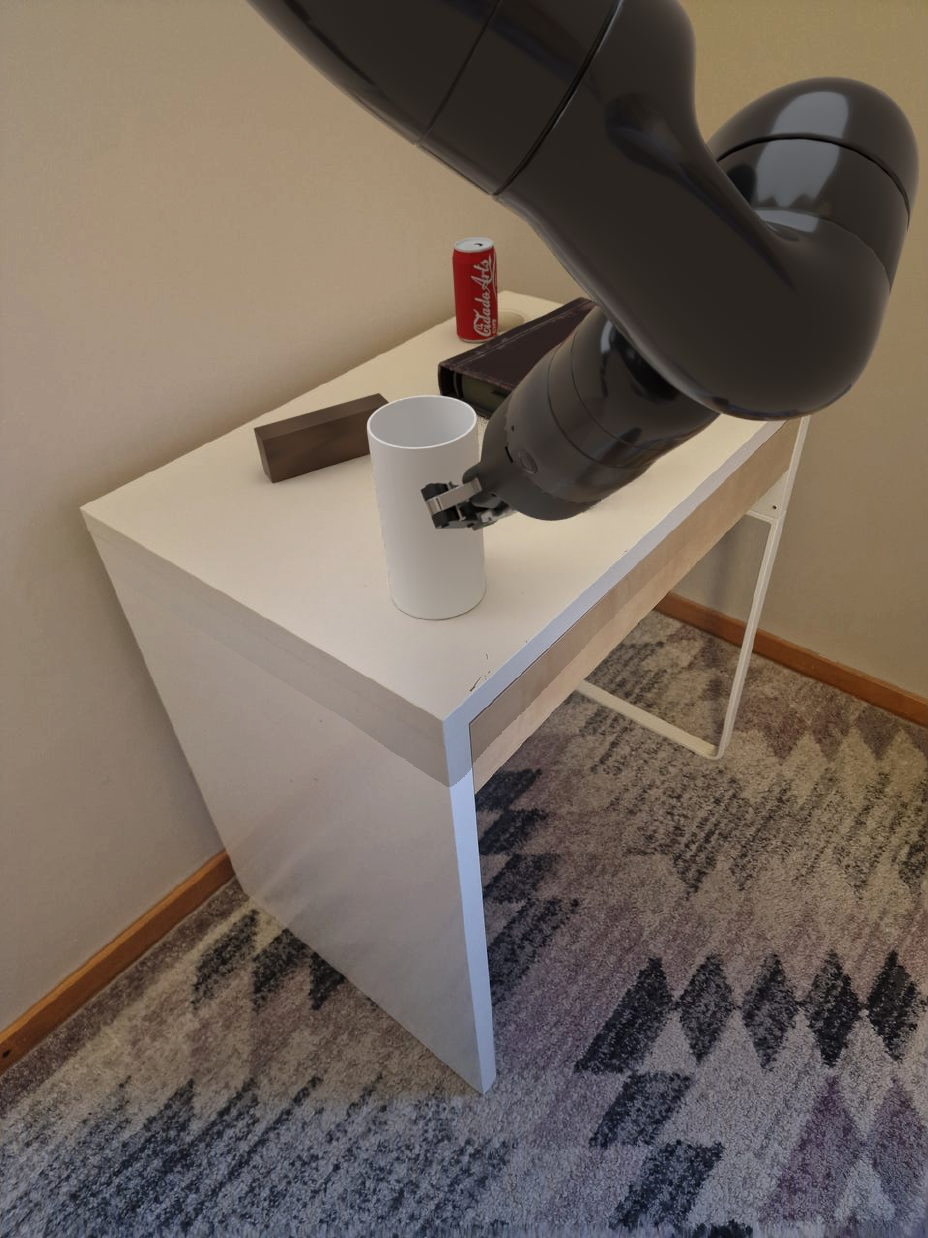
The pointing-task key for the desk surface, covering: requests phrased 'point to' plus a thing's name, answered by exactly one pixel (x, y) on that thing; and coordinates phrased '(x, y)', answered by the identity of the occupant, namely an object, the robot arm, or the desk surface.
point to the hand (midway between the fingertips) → (476, 514)
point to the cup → (403, 465)
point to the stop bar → (316, 438)
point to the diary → (507, 358)
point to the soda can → (475, 289)
